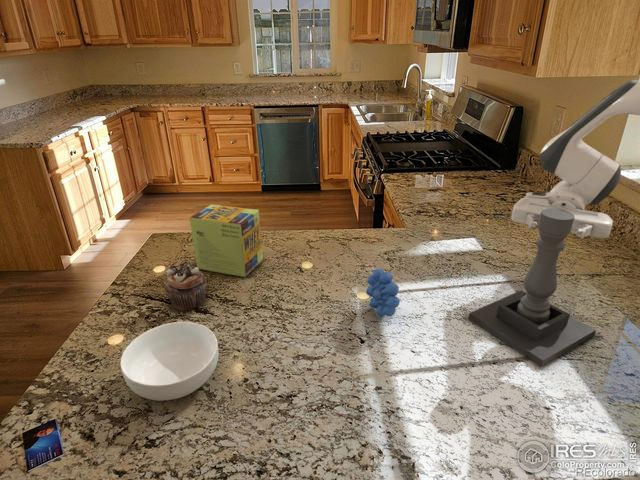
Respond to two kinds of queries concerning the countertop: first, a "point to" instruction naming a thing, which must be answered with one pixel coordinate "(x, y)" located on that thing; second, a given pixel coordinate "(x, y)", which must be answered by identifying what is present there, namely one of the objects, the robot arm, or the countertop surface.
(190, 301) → the cupcake
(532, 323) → the display stand
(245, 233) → the protein box
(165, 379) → the cereal bowl
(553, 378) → the countertop surface
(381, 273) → the grapes
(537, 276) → the candle holder
